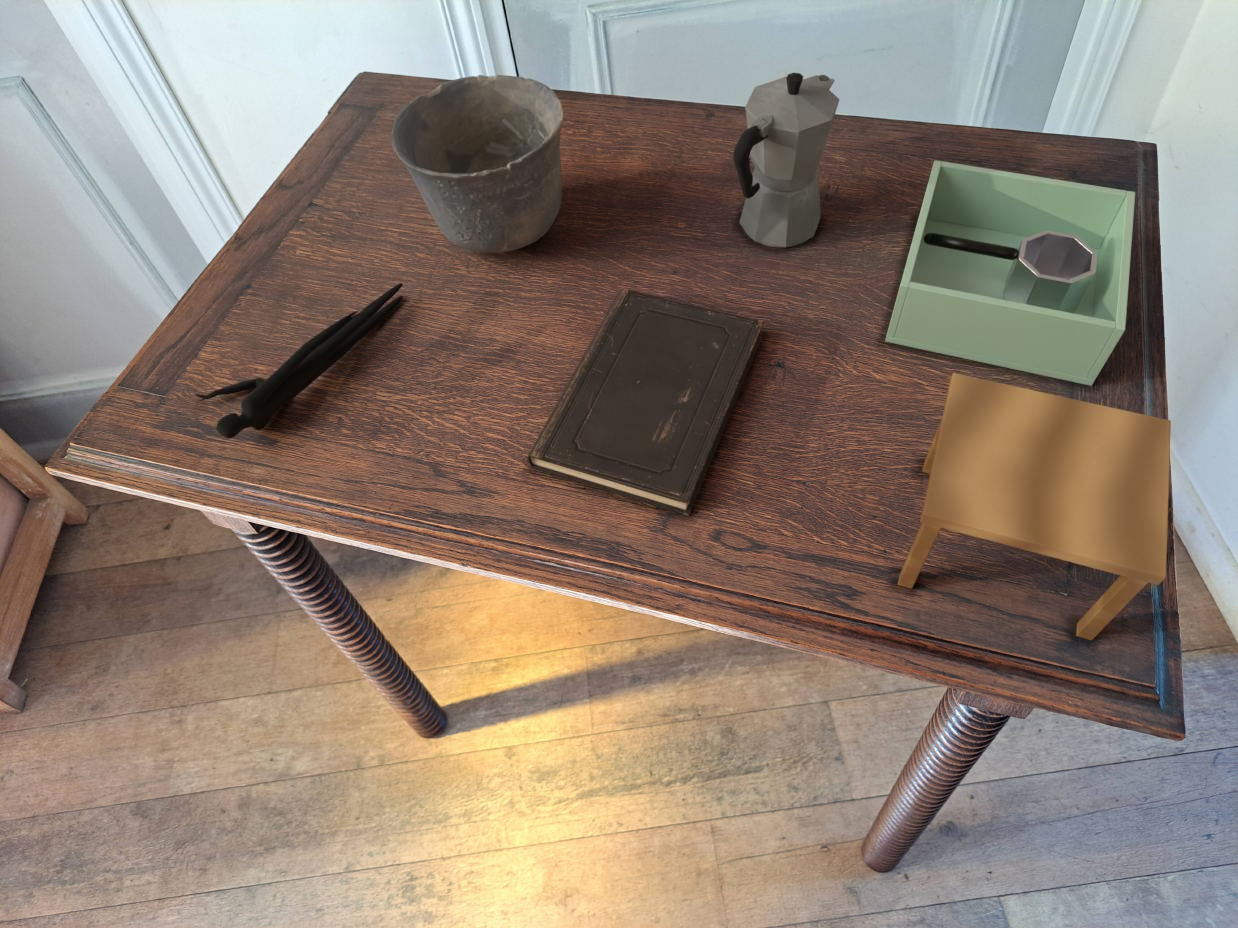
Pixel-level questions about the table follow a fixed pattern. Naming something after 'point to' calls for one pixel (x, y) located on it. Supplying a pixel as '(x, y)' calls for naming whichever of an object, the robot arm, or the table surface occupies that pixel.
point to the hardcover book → (649, 400)
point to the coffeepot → (784, 158)
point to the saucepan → (1037, 267)
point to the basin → (973, 283)
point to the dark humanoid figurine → (301, 368)
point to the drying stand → (1050, 485)
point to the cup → (485, 159)
